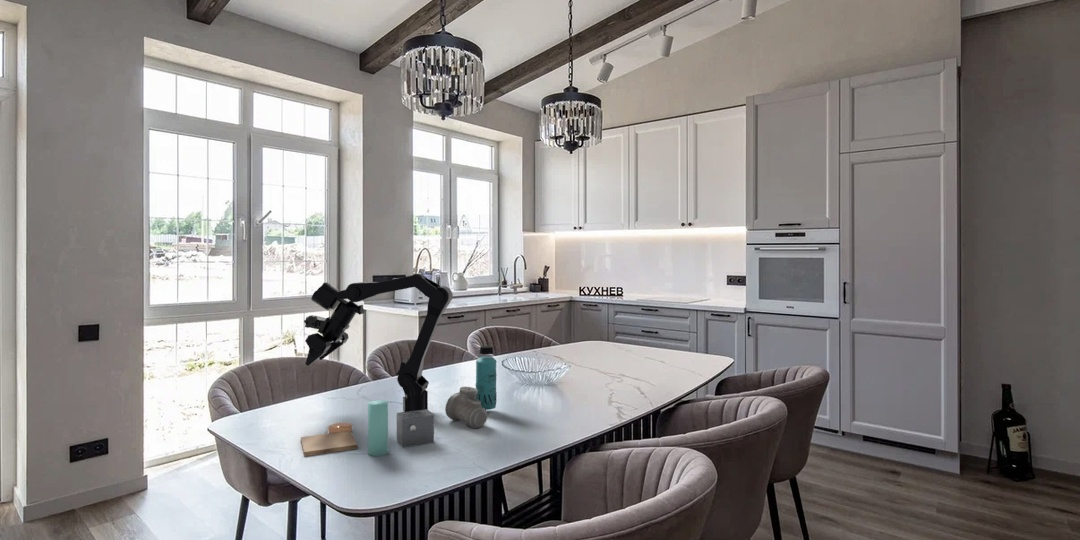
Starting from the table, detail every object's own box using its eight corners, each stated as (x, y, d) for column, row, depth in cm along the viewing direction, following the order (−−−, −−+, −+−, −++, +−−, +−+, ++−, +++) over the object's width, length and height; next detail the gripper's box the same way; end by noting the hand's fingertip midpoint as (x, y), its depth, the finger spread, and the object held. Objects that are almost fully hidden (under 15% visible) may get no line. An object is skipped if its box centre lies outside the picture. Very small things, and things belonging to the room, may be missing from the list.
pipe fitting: (442, 420, 159) (447, 385, 158) (465, 417, 164) (470, 383, 163) (465, 435, 150) (470, 398, 149) (489, 431, 155) (494, 395, 154)
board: (349, 434, 147) (349, 430, 147) (357, 448, 136) (357, 444, 136) (300, 441, 141) (300, 437, 141) (304, 456, 131) (304, 452, 131)
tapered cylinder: (385, 448, 137) (385, 399, 136) (389, 454, 133) (389, 404, 132) (366, 450, 135) (366, 401, 134) (369, 457, 131) (369, 406, 130)
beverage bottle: (471, 413, 167) (471, 347, 166) (481, 408, 173) (481, 343, 172) (490, 416, 164) (490, 348, 164) (500, 410, 171) (500, 345, 170)
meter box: (427, 435, 146) (427, 408, 146) (434, 443, 140) (434, 415, 140) (396, 439, 143) (396, 412, 143) (402, 448, 137) (402, 420, 136)
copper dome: (350, 428, 153) (350, 421, 153) (353, 434, 147) (353, 427, 147) (327, 431, 150) (327, 424, 150) (329, 438, 145) (329, 430, 145)
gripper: (330, 301, 177) (304, 342, 178) (304, 307, 159) (275, 353, 159) (360, 320, 177) (334, 361, 178) (337, 328, 159) (308, 374, 159)
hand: (313, 362), depth 168 cm, fingers open, 9 cm apart
